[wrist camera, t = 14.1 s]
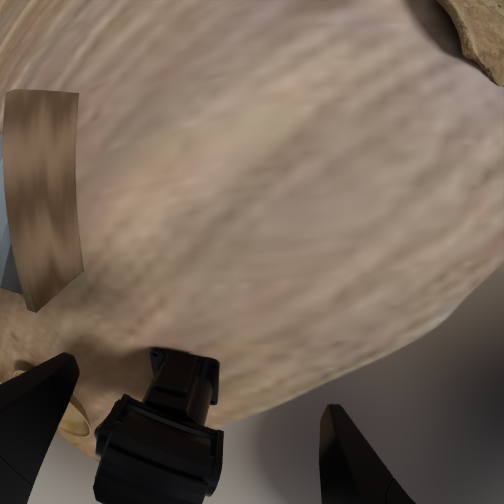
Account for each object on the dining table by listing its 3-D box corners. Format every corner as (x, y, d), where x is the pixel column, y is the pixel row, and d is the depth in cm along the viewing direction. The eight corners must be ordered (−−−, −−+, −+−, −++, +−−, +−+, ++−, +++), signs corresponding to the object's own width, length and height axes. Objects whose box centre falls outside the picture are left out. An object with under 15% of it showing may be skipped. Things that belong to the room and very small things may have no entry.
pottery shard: (472, -14, 11) (408, -27, 10) (503, -23, 7) (443, -47, 6) (514, 87, 15) (465, 99, 14) (548, 88, 11) (510, 98, 10)
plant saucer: (88, 387, 30) (80, 401, 27) (103, 438, 35) (98, 449, 33) (11, 344, 30) (2, 354, 27) (35, 402, 35) (29, 411, 33)
